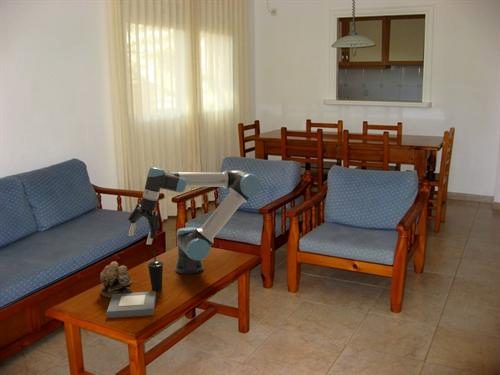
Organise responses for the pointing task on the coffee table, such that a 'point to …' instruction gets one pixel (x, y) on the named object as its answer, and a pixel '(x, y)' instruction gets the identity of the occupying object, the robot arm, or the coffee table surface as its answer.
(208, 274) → the coffee table surface
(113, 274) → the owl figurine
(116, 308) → the base
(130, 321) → the coffee table surface
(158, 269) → the drinking cup
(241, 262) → the coffee table surface
